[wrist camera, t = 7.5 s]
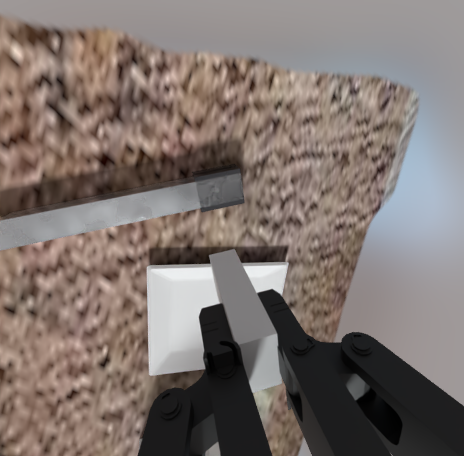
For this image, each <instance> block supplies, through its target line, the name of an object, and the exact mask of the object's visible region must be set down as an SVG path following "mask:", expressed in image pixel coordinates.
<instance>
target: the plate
mask: <svg viewBox="0 0 464 456" xmlns="http://www.w3.org/2000/svg"><path fill="white" fill-rule="evenodd" d="M242 265H243V267H244V269H245V271H246V273H247V275H248V277H249V279H250V281H251V283H252V285H253V287H254V289H255V291H256V293H258V292H262V291H266V290H270V289H274V290H275V291H277V292H278V293H280V294H281V296H282V293H283V288H284V283H285V279H286V274H287V269H288V262H263V263H242ZM147 300H148V348H149V375H160V374H168V373H177V372H185V371H193V370H202V369H205V365H204V361H203V353H204V346H203V340H202V334H201V328H200V322H199V315H200V312H201V309H202V308H205V307H208V306H212V305H216V304H220V303H219V300H218V296H217V292H216V288H215V283H214V278H213V273H212V268H211V264H182V265H149V266H148V267H147Z"/></svg>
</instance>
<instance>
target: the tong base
mask: <svg viewBox="0 0 464 456" xmlns="http://www.w3.org/2000/svg"><path fill="white" fill-rule="evenodd" d="M232 167H237V166H236V165H235V164H232V165H227V166H222V167H216V168H211V169H206V170H201V171H196V172H192V173H193V177H188V178H183V179H178V180H173V181H168V182H163V183H158V184H153V185H148V186H142V187H137V188H132V189H127V190H122V191H117V192H112V193H107V194H102V195H97V196H92V197H87V198H82V199H77V200H72V201H67V202H62V203H56V204H51V205H46V206H41V207H36V208H31V209H26V210H21V211H16V212H11V213H9V214H8V215H6V216H11V215H16V214H21V213H26V212H31V211H36V210H41V209H47V208H52V207H57V206H62V205H67V204H72V203H77V202H82V201H87V200H92V199H97V198H102V197H108V196H113V195H118V194H123V193H128V192H133V191H138V190H143V189H148V188H153V187H158V186H163V185H169V184H174V183H179V182H184V181H189V180H194V175H196V174H201V173H206V172H212V171H217V170H222V169H227V168H232ZM6 216H5V217H6Z"/></svg>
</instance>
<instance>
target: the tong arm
mask: <svg viewBox="0 0 464 456" xmlns="http://www.w3.org/2000/svg"><path fill="white" fill-rule="evenodd" d="M242 203H245V202H244V195H243V187H242V180H241V172H240V168H239V167H238V166H237V167H232V168H227V169H222V170H217V171H212V172H206V173H201V174H196V175H194V180H189V181H184V182H179V183H174V184H169V185H163V186H158V187H153V188H148V189H143V190H138V191H133V192H128V193H123V194H118V195H113V196H108V197H102V198H97V199H92V200H87V201H82V202H77V203H72V204H67V205H62V206H57V207H52V208H47V209H41V210H36V211H31V212H26V213H21V214H16V215H11V216H6V217H1V218H0V250H5V249H9V248H14V247H19V246H24V245H28V244H33V243H38V242H43V241H47V240H52V239H57V238H61V237H66V236H71V235H76V234H80V233H85V232H90V231H95V230H99V229H104V228H109V227H114V226H118V225H123V224H128V223H132V222H137V221H142V220H147V219H151V218H156V217H161V216H166V215H170V214H175V213H180V212H185V211H189V210H194V209H199V208H201V212H205V211H210V210H214V209H219V208H224V207H228V206H233V205H238V204H242Z"/></svg>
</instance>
